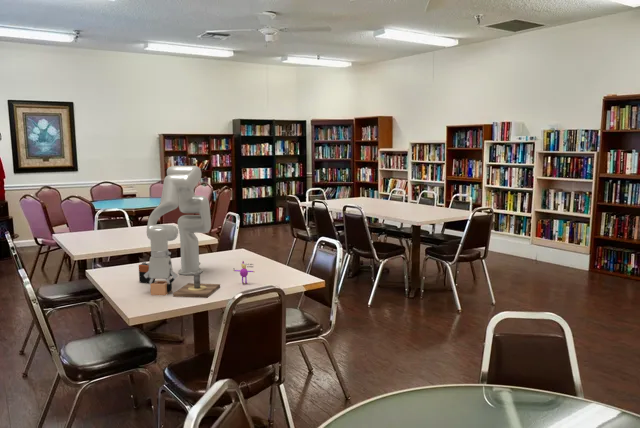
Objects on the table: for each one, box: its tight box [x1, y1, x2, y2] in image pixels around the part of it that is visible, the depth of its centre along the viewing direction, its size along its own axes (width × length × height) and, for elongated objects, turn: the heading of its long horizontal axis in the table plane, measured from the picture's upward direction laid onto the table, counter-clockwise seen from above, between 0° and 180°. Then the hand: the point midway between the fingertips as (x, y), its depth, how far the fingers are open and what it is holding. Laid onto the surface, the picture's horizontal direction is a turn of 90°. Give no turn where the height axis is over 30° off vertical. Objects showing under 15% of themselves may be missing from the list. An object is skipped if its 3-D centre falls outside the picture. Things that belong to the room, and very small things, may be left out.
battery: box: [138, 261, 156, 285], centre depth 253 cm, size 4×7×10 cm, turn 66°
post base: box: [172, 273, 221, 299], centre depth 235 cm, size 18×16×9 cm
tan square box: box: [149, 279, 173, 296], centre depth 233 cm, size 7×7×5 cm
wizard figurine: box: [232, 260, 255, 285], centre depth 248 cm, size 11×3×12 cm, turn 77°
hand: (161, 291), depth 233 cm, fingers closed on tan square box, 7 cm apart
